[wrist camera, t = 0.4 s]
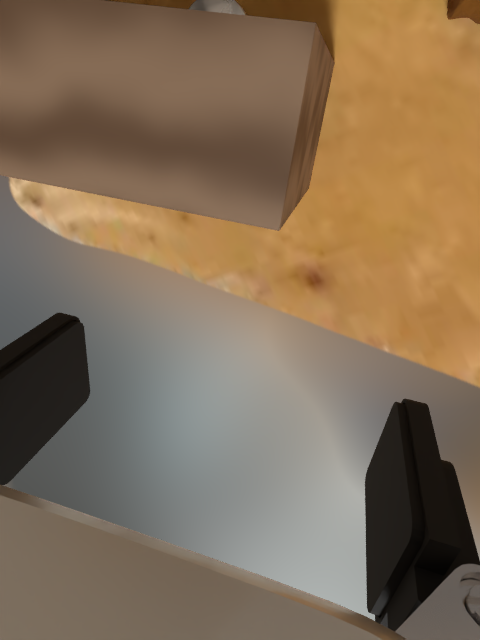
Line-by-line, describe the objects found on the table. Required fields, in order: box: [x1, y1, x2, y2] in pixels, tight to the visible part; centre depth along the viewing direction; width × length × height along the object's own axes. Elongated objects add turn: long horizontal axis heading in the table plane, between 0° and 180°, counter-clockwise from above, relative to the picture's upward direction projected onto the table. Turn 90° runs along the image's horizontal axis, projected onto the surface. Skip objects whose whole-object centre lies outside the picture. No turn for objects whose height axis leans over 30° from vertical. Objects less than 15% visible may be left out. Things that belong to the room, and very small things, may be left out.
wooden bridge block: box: [0, 0, 334, 231], centre depth 29 cm, size 10×20×16 cm, turn 83°
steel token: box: [189, 0, 248, 16], centre depth 33 cm, size 6×6×2 cm
